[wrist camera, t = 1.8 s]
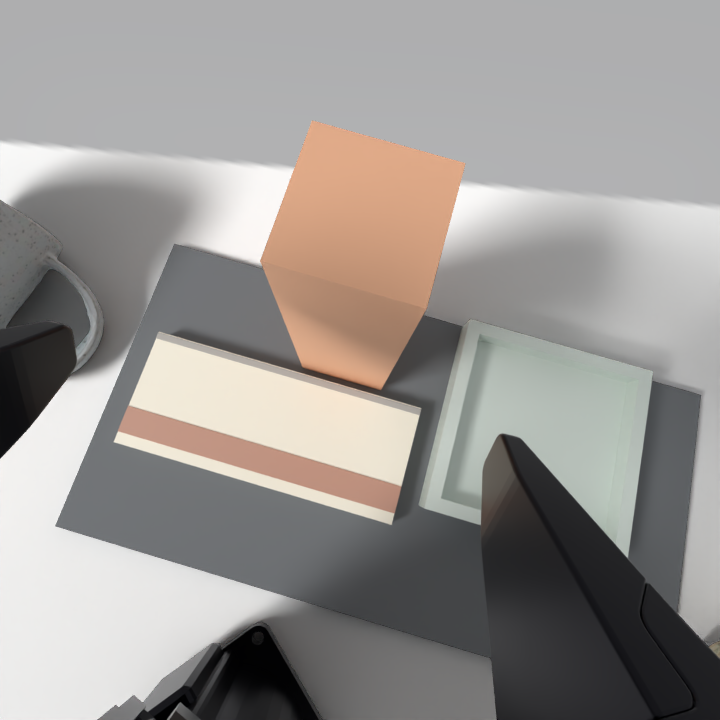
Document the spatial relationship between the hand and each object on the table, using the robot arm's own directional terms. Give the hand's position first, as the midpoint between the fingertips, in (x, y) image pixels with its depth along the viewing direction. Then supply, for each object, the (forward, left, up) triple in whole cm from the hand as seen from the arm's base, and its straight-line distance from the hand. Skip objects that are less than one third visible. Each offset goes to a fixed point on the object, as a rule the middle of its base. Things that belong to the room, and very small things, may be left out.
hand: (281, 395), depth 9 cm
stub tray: (-6, -9, -12) cm, 16 cm away
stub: (+3, -4, -12) cm, 13 cm away
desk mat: (-3, -3, -13) cm, 14 cm away
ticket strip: (+1, +1, -12) cm, 13 cm away
